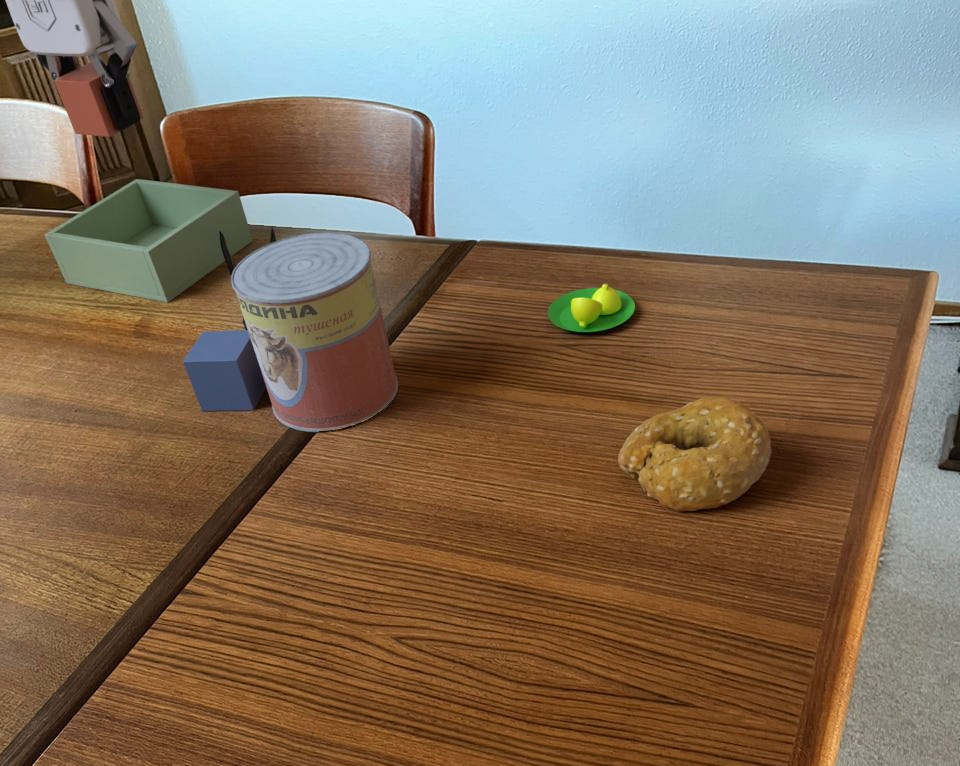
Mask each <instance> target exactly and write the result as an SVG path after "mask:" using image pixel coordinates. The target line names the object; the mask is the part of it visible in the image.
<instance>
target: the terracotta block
mask: <svg viewBox="0 0 960 766" xmlns="http://www.w3.org/2000/svg"><path fill="white" fill-rule="evenodd" d="M107 63H108V62H105V64H106V66H107ZM127 80H128V83H129V86H130V89H131V91H132V94H133V97H134V100H135V103H136V105H137V108H138V111H139V114H140V117H141V119H140V121H142V120H143V119H144V115H143V112H142V109H141V106H140V104H139V101H138V98H137V95H136V92H135V90H134V87H133V84H132V82H131V78H130V76H129V77H128V78H127ZM53 83H54V85H55V87H56V89H57V92H58V94H59V97H60V100H61V102H62V104H63V107H64V109H65V111H66V114H67V116H68V119H69V121H70V124H71V127H72V129H73V131H74V134H75V135H81V136H94V137H105V138H111V137H113V136H115V135H116V134H118V133H120V132H121V131H118V130H116V129H115V127H114V125H113V122H112V119H111V117H110V114H109V111H108V109H107V106H106V103H105V101H104V98H103V95H102V93H101V90H100V88H101V87H103V86H104V85H103V83H102V81H101V80H100V78H99V76H98V74H97V72H96V71H95V69H94V67H93V65H92V63H91V62H88V63H86V64H84V65H82V66H79V68H78V69H76V70H74V71H72V72H70V73H68V74H66V75H64V76H62V77H60V78H58V79H55V80H54V81H53Z"/></svg>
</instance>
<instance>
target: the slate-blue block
mask: <svg viewBox="0 0 960 766" xmlns="http://www.w3.org/2000/svg"><path fill="white" fill-rule="evenodd" d="M182 364H183V366H184V368H185V371H186V373H187V376H188V379H189V381H190V384H191V387H192V389H193V392H194V395H195V398H196V400H197V402H198V404H199V407H200V410H201V412H233V411H236V412H237V411H238V412H239V411H254V410H255V409H256V408H257V405H258V403H260V400H261V398H262V396H263V395H264V393H265V391H266V390H267V387H266V384H265V381H264V378H263V375H262V372H261V369H260V366H259V363H258V360H257V357H256V353H255V350H254V347H253V344H252V341H251V338H250V335H249V332H248V330H246V329H241V330H240V329H237V330H235V329H234V330H209V331H205V330H203V331H202V332H201V334H200V335H199V337H198V339H196V341H195V343H194V344H193V346H192V347H191V349H190V350H189V351H188V353H187V354H186V356H185V358H184V359H183V361H182Z"/></svg>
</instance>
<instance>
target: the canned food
mask: <svg viewBox="0 0 960 766" xmlns="http://www.w3.org/2000/svg"><path fill="white" fill-rule="evenodd" d="M230 285H231V287H232V289H233V291H234V292H235V295H236V299H237V301H238V304H239V308H240V311H241V314H242V316H243V317H244V320H245V323H246V326H247V329H248V332H249V335H250V338H251V341H252V344H253V347H254V350H255V353H256V357H257V360H258V363H259V366H260V369H261V372H262V375H263V378H264V381H265V384H266V390H267V393H268V396H269V399H270V403H271V408H272V412H273V414H274V416H275V417H276V419H277V420H278V422H280V423H281V424H283V425H284V426H286V427H288V428H290V429H293V430H296V431H300V432H306V433H320V432H319V431H321V430H330V429H336V428H340V427H343V426H347V425H351V424H356V423H357V422H361V421H362V420H365V419H367V418H369V417H371V416H373V415H375V414H377V413H378V412H379V411H380V410H382V409H384V408H385V407H386V406H387V405H388V404H389V403H390V402H391V401H392V400H393V401H394V399H395V398H396V396H395V395H397V394H396V393H398V391H399V390H398V389H399V381H398V377H397V375H396V372H395V367H394V362H393V358H392V353H391V348H390V344H389V343H390V342H389V339H388V334H387V329H386V326H385V321H384V316H383V311H382V306H381V302H380V299H379V298H380V296H379V292H378V288H377V282H376V278H375V273H374V269H373V264H372V254H371V250H370V247H369V246H368V244H367V243H366V242H365V241H363V240H362V239H360V238H358V237H356V236H353V235H350V234H346V233H340V232H327V231H326V232H325V231H324V232H310V233H303V234H297V235H293V236H289V237H286V238H285V237H284V238H281V239H279V240H276V242H273V243H270V242H269V243H267V244H266V245H264V246H262V247H260V248H257V249H255V250H254V251H252V252H251V253H249V254H248V255H246V256H245V257H243V259H241V260H240V262H238V263H237V265H236V266H235V269H234V270H233V272H232V275H231V277H230ZM243 317H242V318H243ZM394 397H395V398H394ZM393 398H394V399H393ZM393 401H392V402H393ZM392 402H391V403H392ZM391 403H390V404H391ZM390 404H389V405H390ZM389 405H388V406H389ZM388 406H387V407H388ZM387 407H386V408H387ZM386 408H385V409H386ZM385 409H384V410H385Z"/></svg>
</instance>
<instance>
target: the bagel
mask: <svg viewBox="0 0 960 766" xmlns="http://www.w3.org/2000/svg"><path fill="white" fill-rule="evenodd" d="M771 444H772V441H771V438H770V434H769V431H768V427H767V425H766V424H764V422H763V421H762V419H760V418H759V417H758V415H757V414H756V413H755V412H754V411H752V410H751V408H750V407H748V406H747V405H745V404H744V403H743V402H741V401H740V400H732V399H730V398H728V397H722V396H715V397H714V396H713V397H701V398H698V399H697V400H695V401H690V402H688V403H687V404H685V405H684V406H681V407H678V408H676V409H673V410H670V411H666V412H661V413H657V414H655V415H654V416H652V417H650V418H647V419H645V420H644V421H643V423H642V424H640V425H638V426H637V427H636V428H635V429H633V431H632V432H631V433H630V434H629V436H628V437H627V438H626V440H625V441H624V443H623V445H622V447H621V448H620V450H619V454H618V456H617V458H618V459H617V460H618V465H619V468H620V469H621V471H622V472H623V473H624V474H626V475H629V476H630V477H631V478H632V479H633V480H638V483H639V484H640V487H641V488H642V490H643V491H644V492H646V493H647V497H648V498H651V499H653V500H656V501H659V504H660V505H661V506H664V507H667V508H670V509H672V510H674V511H677V512H686V511H689V512H694V511H697V510H710V509H716V508H719V507H721V506H725V505H727V504H729V503H731V502H733V501H735V500H737V499H738V498H739V497H741V496H742V495H743V494H745V493H746V492H747V491H749V489H750V488H751V487H752V485H754V483H756V482H758V481H759V480H760V478H761V476H762V475H763V474H764V472H765V470H767V467H768V466H769V463H770V458H771V455H772V446H771Z"/></svg>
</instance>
